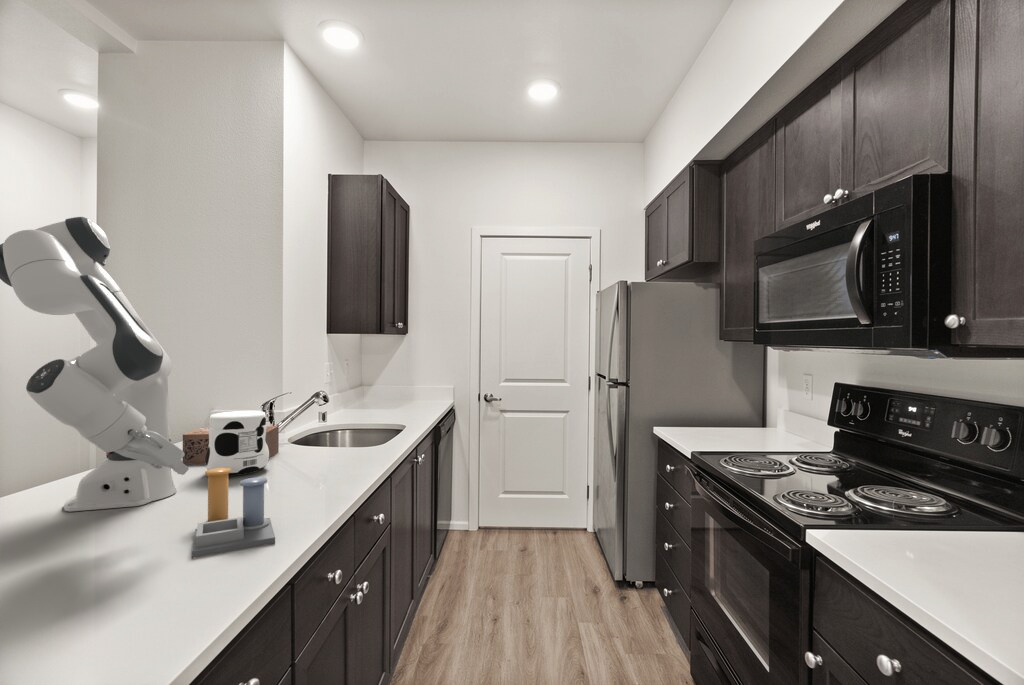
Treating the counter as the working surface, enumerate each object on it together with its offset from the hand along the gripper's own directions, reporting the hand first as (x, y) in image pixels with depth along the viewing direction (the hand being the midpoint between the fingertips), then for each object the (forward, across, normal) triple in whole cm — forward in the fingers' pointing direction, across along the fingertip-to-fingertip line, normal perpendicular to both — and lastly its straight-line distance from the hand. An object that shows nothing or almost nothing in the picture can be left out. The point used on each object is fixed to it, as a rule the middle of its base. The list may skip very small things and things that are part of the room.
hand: (172, 468), depth 106 cm
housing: (+13, -15, +6) cm, 20 cm away
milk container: (+35, +37, -16) cm, 53 cm away
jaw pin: (+16, 0, +3) cm, 17 cm away
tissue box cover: (+43, +57, -23) cm, 75 cm away
